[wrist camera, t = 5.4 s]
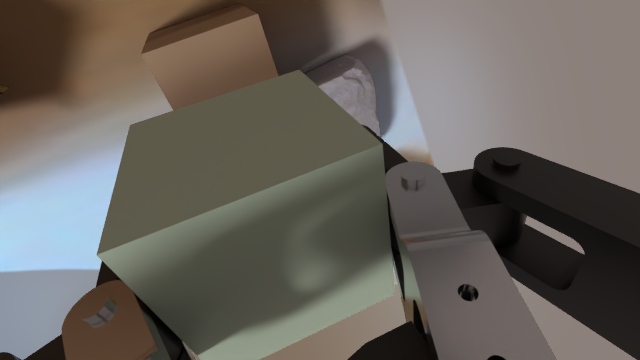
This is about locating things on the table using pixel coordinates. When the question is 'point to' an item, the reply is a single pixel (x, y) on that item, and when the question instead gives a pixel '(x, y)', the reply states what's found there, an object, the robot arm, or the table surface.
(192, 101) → the walnut cube
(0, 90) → the white knobbed polyhedron
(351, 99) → the stone block
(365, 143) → the sage cube
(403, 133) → the table surface
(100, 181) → the table surface
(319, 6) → the table surface
